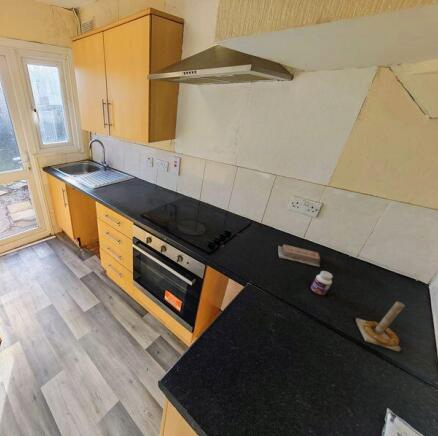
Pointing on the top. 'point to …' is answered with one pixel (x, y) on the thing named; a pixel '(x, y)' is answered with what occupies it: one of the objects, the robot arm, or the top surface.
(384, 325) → the wooden peg stand
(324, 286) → the pill bottle
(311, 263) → the packaged product
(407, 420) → the top surface
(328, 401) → the top surface
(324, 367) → the top surface
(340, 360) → the top surface
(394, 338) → the ring
